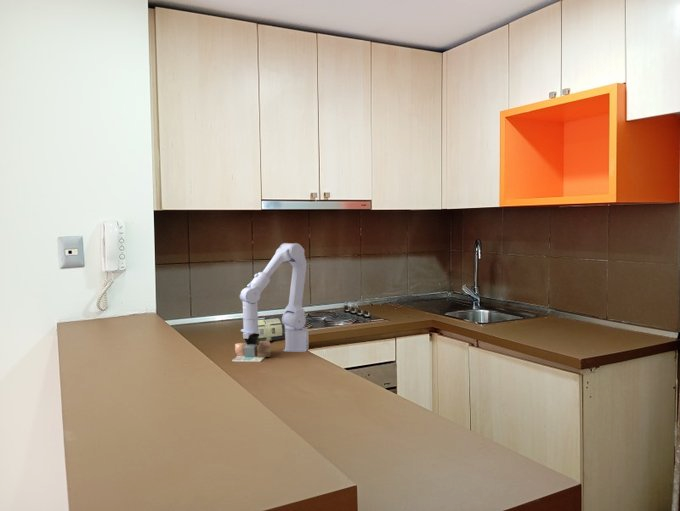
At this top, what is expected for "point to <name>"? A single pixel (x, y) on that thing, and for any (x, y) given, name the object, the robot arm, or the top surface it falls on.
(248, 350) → the matte grey cube
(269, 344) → the peach rounded cylinder
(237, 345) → the peach glossy domed part
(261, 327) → the coffee can
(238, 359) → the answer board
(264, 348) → the walnut block
